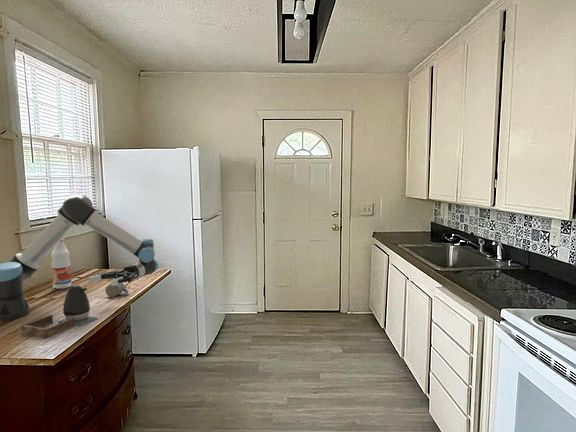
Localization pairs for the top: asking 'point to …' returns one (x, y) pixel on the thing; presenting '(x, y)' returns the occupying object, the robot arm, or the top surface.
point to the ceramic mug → (115, 290)
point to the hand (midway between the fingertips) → (100, 281)
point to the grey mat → (82, 322)
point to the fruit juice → (61, 266)
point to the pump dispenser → (76, 304)
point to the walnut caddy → (36, 330)
